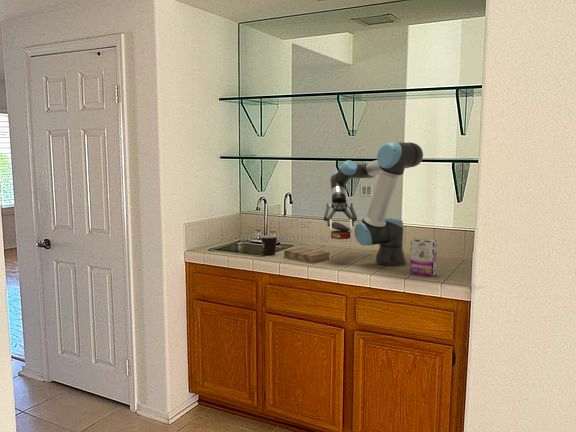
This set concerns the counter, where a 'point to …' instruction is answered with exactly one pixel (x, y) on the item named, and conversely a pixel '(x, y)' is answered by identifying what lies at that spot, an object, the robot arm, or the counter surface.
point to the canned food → (340, 234)
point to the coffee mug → (269, 245)
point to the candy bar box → (423, 257)
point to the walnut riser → (306, 255)
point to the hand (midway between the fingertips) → (341, 230)
